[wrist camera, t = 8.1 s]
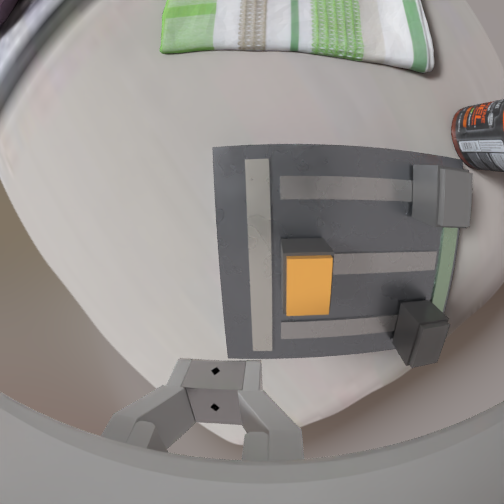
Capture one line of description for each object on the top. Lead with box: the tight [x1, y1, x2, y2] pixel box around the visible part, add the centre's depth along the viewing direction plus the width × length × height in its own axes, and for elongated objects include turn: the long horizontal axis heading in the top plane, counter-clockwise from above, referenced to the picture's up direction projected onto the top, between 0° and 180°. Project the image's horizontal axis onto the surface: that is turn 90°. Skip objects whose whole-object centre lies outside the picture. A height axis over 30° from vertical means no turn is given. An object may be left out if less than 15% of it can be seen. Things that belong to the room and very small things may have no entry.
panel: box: [213, 144, 463, 359], centre depth 20 cm, size 17×20×2 cm
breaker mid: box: [281, 238, 334, 316], centre depth 18 cm, size 4×3×4 cm
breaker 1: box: [412, 165, 472, 228], centre depth 15 cm, size 4×3×4 cm
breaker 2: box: [392, 300, 450, 368], centre depth 19 cm, size 4×3×4 cm
